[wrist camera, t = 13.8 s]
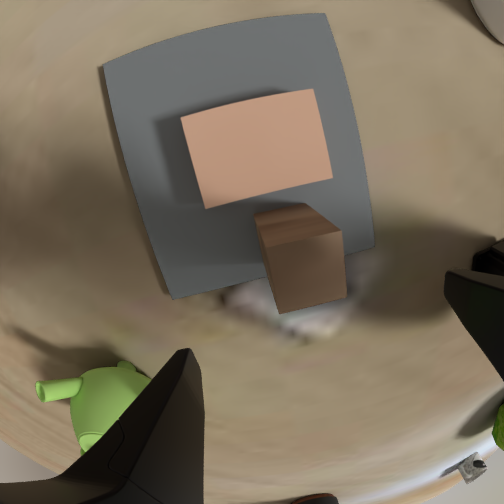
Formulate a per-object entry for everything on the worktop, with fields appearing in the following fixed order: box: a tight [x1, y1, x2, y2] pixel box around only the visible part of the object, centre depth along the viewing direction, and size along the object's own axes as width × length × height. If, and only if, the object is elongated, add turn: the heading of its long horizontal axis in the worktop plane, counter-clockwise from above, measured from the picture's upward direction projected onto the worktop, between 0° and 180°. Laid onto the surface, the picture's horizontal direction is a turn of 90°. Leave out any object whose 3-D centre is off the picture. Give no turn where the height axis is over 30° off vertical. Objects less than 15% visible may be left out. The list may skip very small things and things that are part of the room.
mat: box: [103, 13, 375, 300], centre depth 16 cm, size 16×14×1 cm
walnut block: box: [253, 203, 347, 314], centre depth 15 cm, size 3×3×6 cm
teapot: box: [35, 361, 151, 456], centre depth 18 cm, size 11×12×8 cm
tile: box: [181, 89, 333, 209], centre depth 15 cm, size 5×2×7 cm
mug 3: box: [457, 452, 487, 484], centre depth 40 cm, size 10×7×7 cm, turn 65°
